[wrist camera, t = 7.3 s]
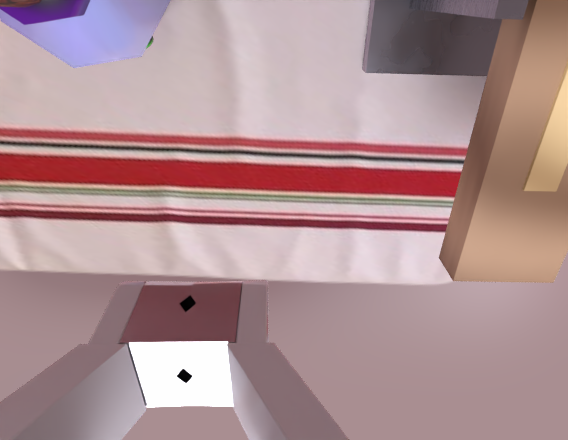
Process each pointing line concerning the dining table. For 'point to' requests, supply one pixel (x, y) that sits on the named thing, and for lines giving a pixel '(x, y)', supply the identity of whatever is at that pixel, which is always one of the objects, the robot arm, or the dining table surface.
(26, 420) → the robot arm
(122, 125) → the dining table surface
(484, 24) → the beam stand
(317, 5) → the dining table surface
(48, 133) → the dining table surface
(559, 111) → the balance beam
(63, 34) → the potion bottle
